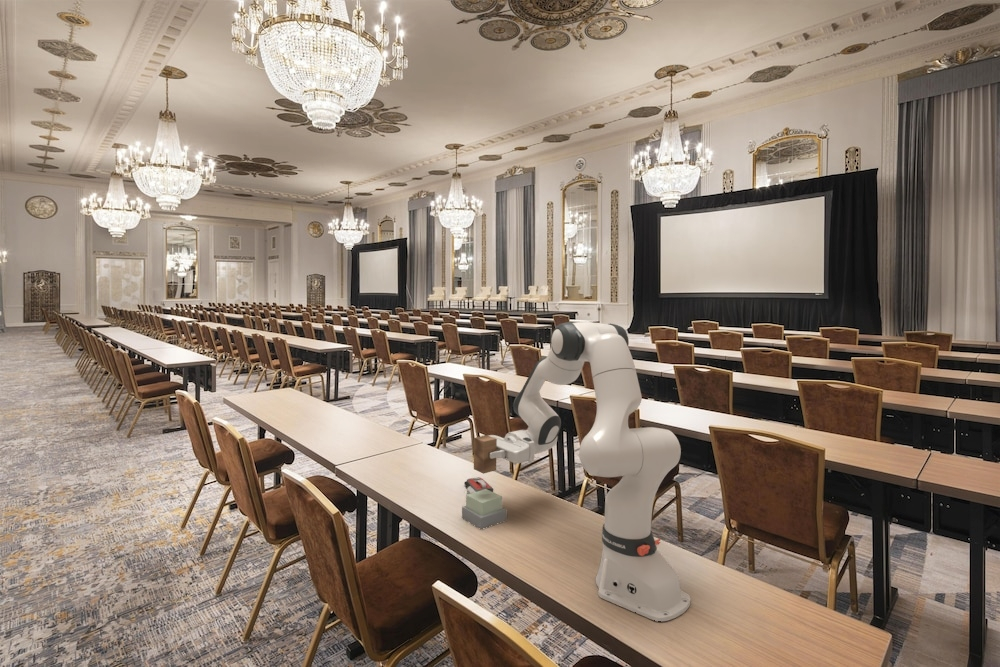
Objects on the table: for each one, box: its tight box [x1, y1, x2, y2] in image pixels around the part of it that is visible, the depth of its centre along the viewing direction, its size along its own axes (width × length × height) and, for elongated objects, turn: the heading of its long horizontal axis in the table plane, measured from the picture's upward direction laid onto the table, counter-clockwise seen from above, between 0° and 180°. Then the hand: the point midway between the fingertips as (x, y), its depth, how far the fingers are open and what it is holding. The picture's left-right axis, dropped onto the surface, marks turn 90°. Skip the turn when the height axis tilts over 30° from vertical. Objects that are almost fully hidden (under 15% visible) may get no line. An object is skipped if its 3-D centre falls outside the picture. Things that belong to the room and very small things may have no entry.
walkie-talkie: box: [464, 477, 494, 495], centre depth 183 cm, size 9×4×20 cm
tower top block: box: [465, 489, 503, 516], centre depth 163 cm, size 8×8×4 cm
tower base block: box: [461, 505, 508, 530], centre depth 163 cm, size 10×10×4 cm
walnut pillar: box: [473, 434, 497, 474], centre depth 161 cm, size 5×5×10 cm
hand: (482, 452), depth 161 cm, fingers closed on walnut pillar, 5 cm apart
